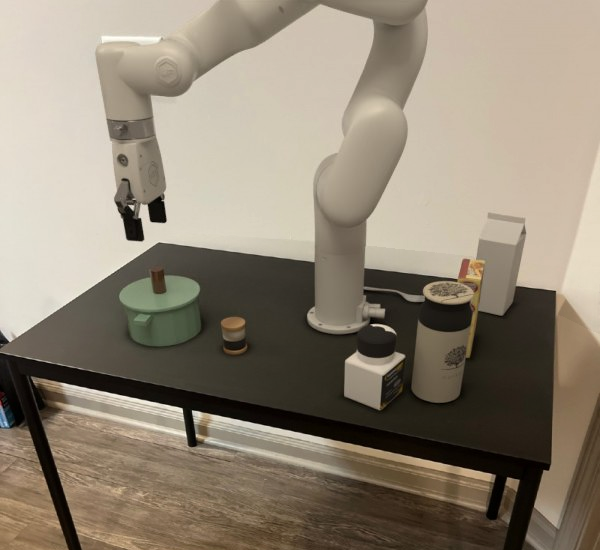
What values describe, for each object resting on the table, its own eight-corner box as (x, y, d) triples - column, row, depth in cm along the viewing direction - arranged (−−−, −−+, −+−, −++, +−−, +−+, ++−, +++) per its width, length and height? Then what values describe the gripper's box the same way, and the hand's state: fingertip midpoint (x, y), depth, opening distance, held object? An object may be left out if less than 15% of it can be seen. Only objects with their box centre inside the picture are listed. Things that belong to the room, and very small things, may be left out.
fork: (337, 281, 137) (337, 274, 136) (442, 301, 128) (443, 293, 127) (331, 287, 135) (331, 279, 134) (437, 307, 126) (438, 299, 125)
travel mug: (403, 381, 103) (413, 283, 93) (447, 374, 105) (461, 277, 94) (422, 407, 97) (434, 305, 86) (468, 400, 98) (485, 298, 88)
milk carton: (502, 316, 122) (520, 223, 111) (468, 309, 125) (482, 217, 114) (512, 303, 127) (530, 213, 116) (479, 296, 130) (493, 207, 119)
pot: (215, 310, 127) (211, 276, 122) (180, 357, 111) (175, 320, 107) (153, 304, 129) (147, 271, 125) (110, 349, 114) (102, 313, 109)
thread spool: (250, 344, 115) (248, 317, 111) (243, 356, 111) (241, 329, 108) (227, 342, 115) (225, 315, 112) (220, 353, 112) (217, 326, 109)
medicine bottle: (380, 412, 96) (385, 346, 89) (343, 397, 100) (344, 332, 93) (402, 391, 101) (408, 327, 94) (366, 377, 104) (369, 315, 97)
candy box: (470, 359, 109) (483, 279, 100) (446, 356, 110) (457, 277, 101) (474, 336, 116) (486, 259, 107) (451, 333, 117) (462, 257, 108)
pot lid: (211, 283, 121) (208, 256, 118) (183, 318, 109) (179, 288, 105) (141, 278, 124) (136, 251, 120) (105, 311, 112) (99, 282, 108)
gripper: (129, 141, 92) (146, 250, 102) (173, 120, 106) (184, 217, 115) (84, 139, 93) (105, 246, 103) (133, 118, 107) (148, 214, 117)
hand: (147, 231), depth 109 cm, fingers open, 9 cm apart
